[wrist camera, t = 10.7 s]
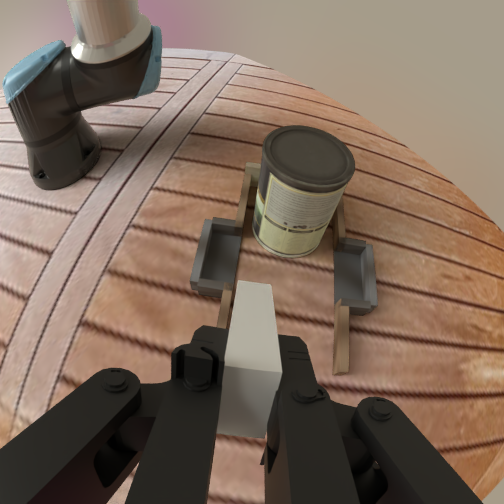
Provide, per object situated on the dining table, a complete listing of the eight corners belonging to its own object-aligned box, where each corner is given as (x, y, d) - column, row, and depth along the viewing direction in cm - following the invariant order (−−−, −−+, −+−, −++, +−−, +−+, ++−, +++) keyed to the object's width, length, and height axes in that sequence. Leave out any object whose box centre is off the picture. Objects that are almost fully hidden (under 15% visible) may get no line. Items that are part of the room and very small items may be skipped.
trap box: (370, 376, 32) (385, 370, 29) (177, 355, 32) (172, 348, 28) (358, 200, 47) (367, 184, 43) (219, 177, 46) (219, 158, 43)
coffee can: (237, 215, 43) (244, 136, 31) (295, 192, 46) (316, 118, 34) (277, 271, 39) (301, 199, 27) (335, 240, 42) (373, 170, 30)
